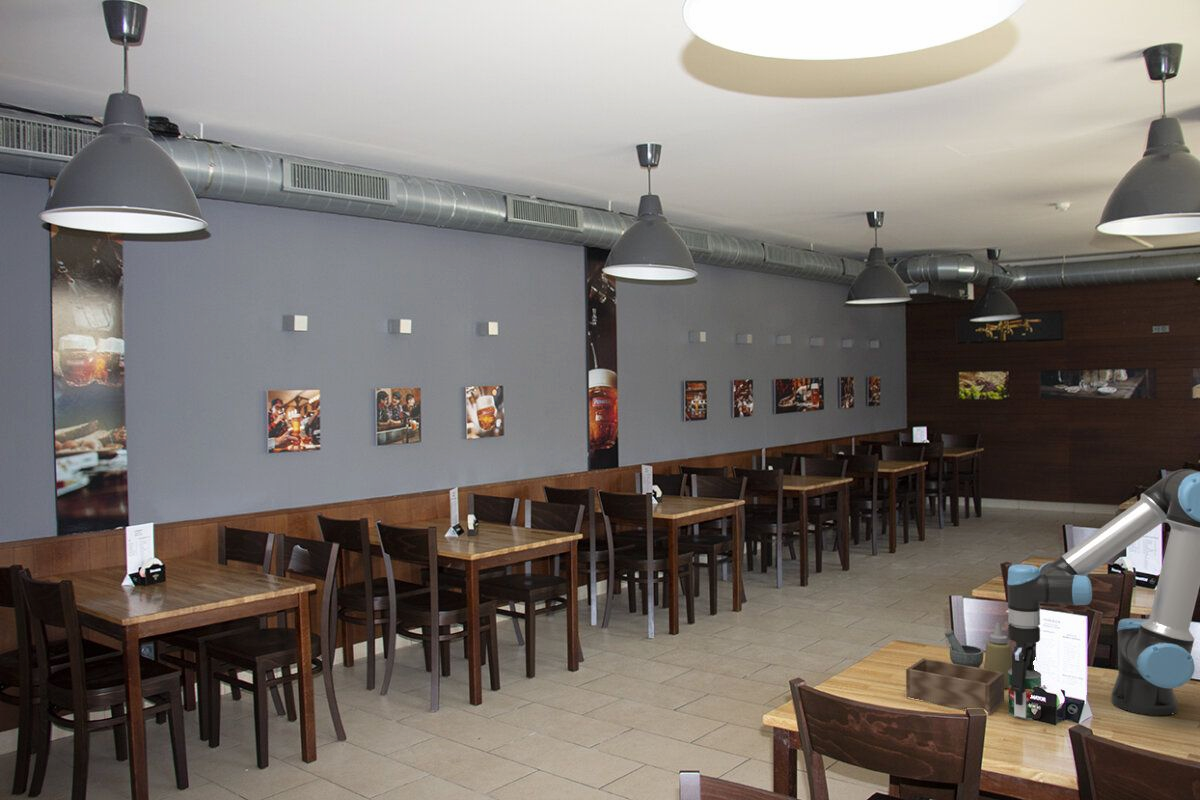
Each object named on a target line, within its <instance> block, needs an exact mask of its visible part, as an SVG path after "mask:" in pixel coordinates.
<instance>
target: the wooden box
mask: <svg viewBox="0 0 1200 800" xmlns="http://www.w3.org/2000/svg"><path fill="white" fill-rule="evenodd" d="M905 675H906V676H905V679H906V680H905V683H906V684H905V685H906V687H905V688H906V696H905V697H906V698H907V697H910V698H914V699H919V700H923V701H927V702H930V703H929V704H931V703H933V704H932V705H936V704H937V706H940V707H941V706H943V707H947V708H951V709H955V710H961V711H965V709H967V708H983V709H985V710H986V711H987V712H988V715H987V716H989V717H990V716H991V715H992V714H993V713H994V712H996V710H997V709H998V708H1000V706H1002V705H1003V704H1004V703H1005V689H1004V672H998V671H992V670H987V669H984V668H980V667H978V668H976V667H970V666H965V665H959V664H953V663H952V662H947V661H941V660H935V659H930V658H925V657H923V658H921V659H920V660H918V661H916V662H915V663H914V664H912V665H911V666H909V667H908V668H906V670H905ZM927 702H926V703H927ZM963 709H964V710H963Z"/></svg>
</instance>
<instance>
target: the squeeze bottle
mask: <svg viewBox="0 0 1200 800" xmlns="http://www.w3.org/2000/svg"><path fill="white" fill-rule="evenodd" d="M1011 647H1012V646H1011V645H1010V644H1009V643H1008V636H1007V635H1004V633H1003V628H1002V625H1001V623H1000V622H996V623H995V625H994V630H993V633H992V634H989V641H987V643H986V644H985V654H984V655H985V656H984V667H983V669H987V670H992V671H998V672H1004V690H1005V689H1008V670H1009V669H1012V648H1011Z"/></svg>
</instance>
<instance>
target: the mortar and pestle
mask: <svg viewBox="0 0 1200 800" xmlns="http://www.w3.org/2000/svg"><path fill="white" fill-rule="evenodd" d="M944 636H945V637H946V638H947V640H948V643H949V645H950V646H949V658H950V661H951V663H953V664H959V665H965V666H970V667H976V668H980V667H981V665H982V664H983V662H984V649H982V648H981V647H978V646H974V645H967V644H961V643H960V642H959V640H958V638H957V637H956V635H955V632H954V630H953V629H951V630H947V631H945V633H944Z"/></svg>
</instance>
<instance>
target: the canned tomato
mask: <svg viewBox="0 0 1200 800" xmlns="http://www.w3.org/2000/svg"><path fill="white" fill-rule="evenodd" d="M1025 680H1026V681H1025V692H1026V718H1023V717H1018V716H1014V691H1011V690H1010V688H1011V683H1012V669H1009V670H1008V688H1007V691H1008V692H1007V693H1008V714H1009V715H1010V716H1012V717H1014V718H1016V719H1021V720H1026V721H1027V720H1028V721H1031V720H1032V721H1034V720H1033V719H1032V717H1031V715H1030V713H1029V707H1028V704H1029V700H1030V697H1031V695H1032V693H1033V692H1034V690H1033V688H1034V687H1041V688H1042V673H1041V672H1039V671H1038V670H1037V671H1035V670H1033V671H1028V670H1027V671H1026V677H1025Z"/></svg>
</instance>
